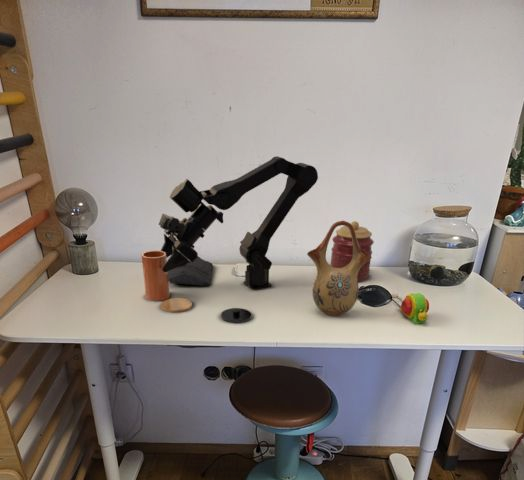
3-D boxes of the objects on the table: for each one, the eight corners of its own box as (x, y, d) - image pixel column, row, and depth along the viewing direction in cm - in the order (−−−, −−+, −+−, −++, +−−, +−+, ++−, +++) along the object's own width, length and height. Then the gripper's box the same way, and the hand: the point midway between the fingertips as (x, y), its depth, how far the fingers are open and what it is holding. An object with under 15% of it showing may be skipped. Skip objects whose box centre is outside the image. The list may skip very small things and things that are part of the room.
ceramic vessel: (302, 318, 123) (309, 223, 111) (303, 305, 131) (309, 215, 119) (365, 322, 122) (379, 226, 110) (361, 308, 130) (374, 217, 118)
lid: (241, 308, 128) (241, 302, 128) (257, 319, 123) (257, 312, 122) (215, 314, 125) (215, 307, 124) (230, 325, 119) (230, 319, 118)
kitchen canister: (375, 281, 150) (383, 225, 141) (337, 283, 147) (343, 227, 138) (359, 268, 161) (365, 216, 152) (323, 270, 158) (328, 217, 149)
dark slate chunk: (160, 287, 140) (159, 272, 138) (168, 264, 159) (167, 250, 157) (211, 287, 141) (211, 272, 139) (213, 264, 160) (213, 250, 158)
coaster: (184, 298, 134) (184, 296, 133) (197, 308, 128) (196, 306, 127) (156, 303, 130) (156, 301, 129) (168, 314, 124) (167, 312, 123)
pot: (164, 290, 138) (161, 249, 132) (173, 298, 133) (169, 255, 127) (142, 294, 135) (138, 252, 129) (150, 302, 130) (146, 259, 124)
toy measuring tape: (411, 327, 120) (416, 303, 117) (382, 298, 137) (386, 276, 134) (434, 326, 121) (439, 302, 118) (403, 297, 138) (407, 276, 135)
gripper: (169, 196, 132) (133, 238, 133) (183, 211, 117) (142, 257, 118) (197, 223, 138) (162, 262, 140) (214, 240, 123) (175, 283, 125)
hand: (160, 265), depth 130 cm, fingers open, 9 cm apart
